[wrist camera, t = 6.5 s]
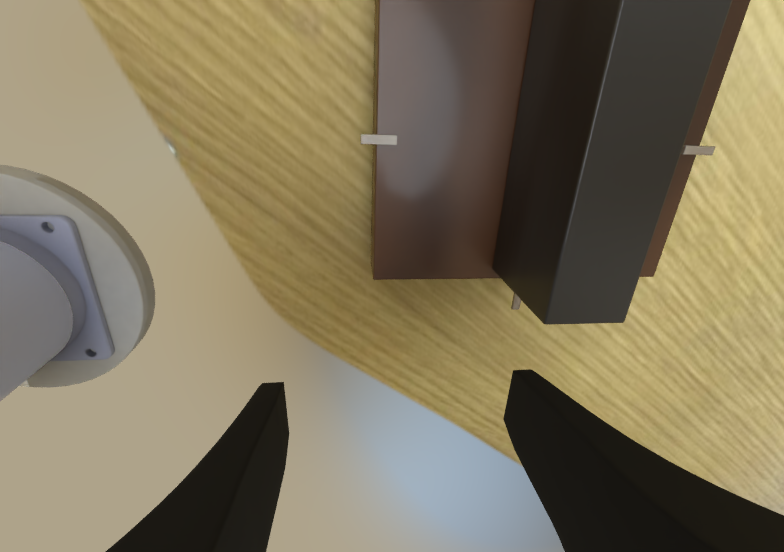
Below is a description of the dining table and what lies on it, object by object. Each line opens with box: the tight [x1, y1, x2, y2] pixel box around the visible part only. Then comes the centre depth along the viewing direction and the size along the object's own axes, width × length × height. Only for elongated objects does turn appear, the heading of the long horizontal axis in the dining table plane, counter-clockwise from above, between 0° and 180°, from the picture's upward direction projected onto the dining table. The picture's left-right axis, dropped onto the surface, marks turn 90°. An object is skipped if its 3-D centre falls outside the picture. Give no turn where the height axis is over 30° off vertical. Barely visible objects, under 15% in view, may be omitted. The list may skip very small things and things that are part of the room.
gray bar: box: [492, 0, 732, 324], centre depth 13 cm, size 11×3×5 cm, turn 178°
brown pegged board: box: [361, 0, 750, 310], centre depth 16 cm, size 15×15×2 cm
